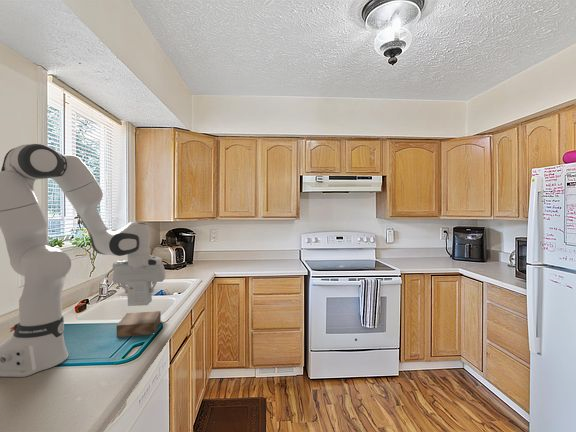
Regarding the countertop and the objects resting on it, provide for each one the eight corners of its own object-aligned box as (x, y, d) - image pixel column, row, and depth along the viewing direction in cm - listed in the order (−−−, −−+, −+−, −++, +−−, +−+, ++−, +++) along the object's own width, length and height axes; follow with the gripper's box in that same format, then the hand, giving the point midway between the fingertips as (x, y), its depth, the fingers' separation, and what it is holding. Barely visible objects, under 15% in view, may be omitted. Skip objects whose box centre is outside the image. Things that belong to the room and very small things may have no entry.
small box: (152, 301, 134) (151, 277, 133) (147, 305, 128) (146, 280, 128) (133, 301, 133) (132, 277, 133) (127, 306, 128) (126, 281, 127)
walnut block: (116, 337, 123) (116, 325, 123) (126, 324, 136) (126, 313, 136) (154, 334, 126) (154, 322, 126) (160, 322, 139) (160, 311, 139)
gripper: (109, 262, 125) (110, 296, 126) (162, 261, 129) (163, 293, 129) (115, 259, 131) (116, 291, 132) (165, 258, 135) (166, 289, 136)
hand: (139, 292), depth 131 cm, fingers closed on small box, 8 cm apart
